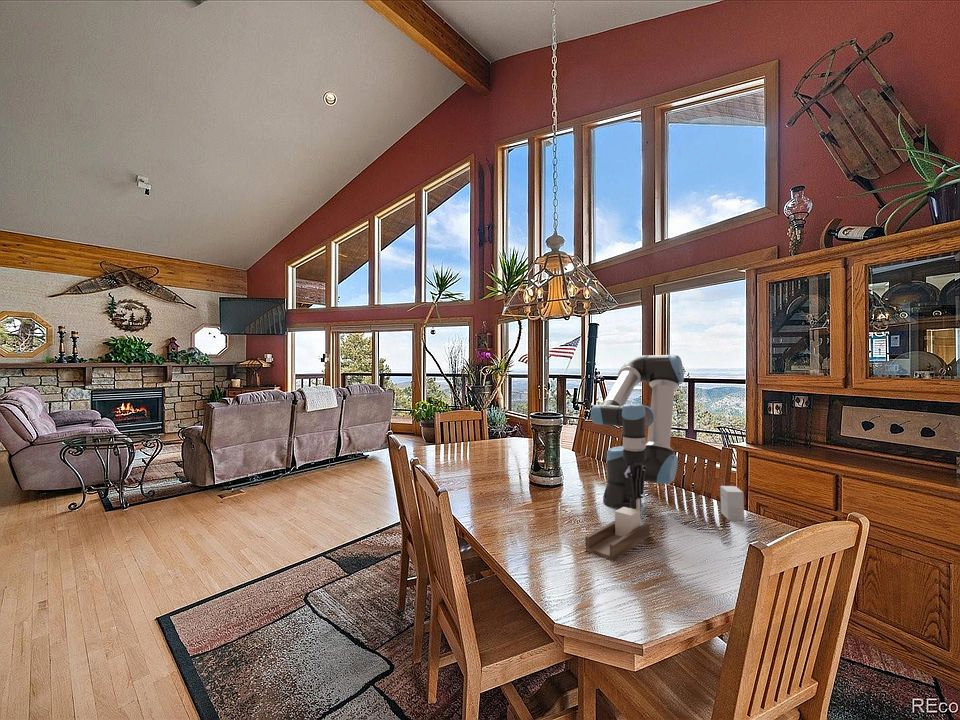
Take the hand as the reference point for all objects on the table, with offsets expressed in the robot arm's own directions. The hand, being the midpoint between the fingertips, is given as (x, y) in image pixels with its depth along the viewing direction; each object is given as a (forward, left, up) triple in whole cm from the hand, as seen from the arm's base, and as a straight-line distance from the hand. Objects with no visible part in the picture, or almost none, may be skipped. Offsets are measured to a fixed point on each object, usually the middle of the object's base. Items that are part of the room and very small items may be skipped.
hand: (635, 516), depth 155 cm
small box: (+19, +38, -6) cm, 43 cm away
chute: (0, -11, -6) cm, 13 cm away
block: (0, -5, -5) cm, 7 cm away
